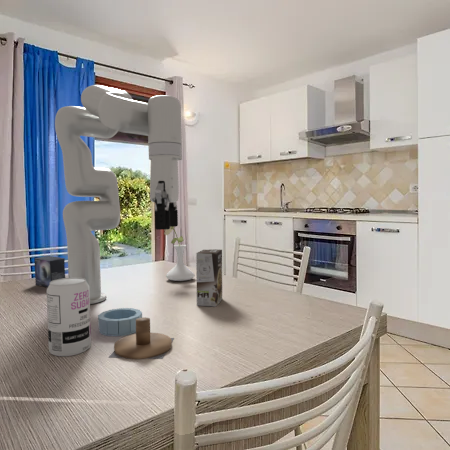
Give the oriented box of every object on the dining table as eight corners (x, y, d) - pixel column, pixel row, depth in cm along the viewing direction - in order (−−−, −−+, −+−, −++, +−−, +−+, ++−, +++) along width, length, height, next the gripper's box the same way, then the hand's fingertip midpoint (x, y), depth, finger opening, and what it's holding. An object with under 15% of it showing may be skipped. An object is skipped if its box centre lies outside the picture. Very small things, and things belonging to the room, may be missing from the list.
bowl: (91, 337, 87) (91, 320, 87) (108, 322, 97) (108, 307, 97) (134, 338, 86) (133, 321, 86) (146, 323, 96) (146, 308, 96)
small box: (34, 285, 141) (32, 257, 140) (50, 282, 146) (49, 255, 146) (50, 288, 135) (49, 260, 134) (66, 285, 140) (65, 257, 140)
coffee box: (216, 307, 111) (216, 253, 110) (196, 305, 112) (195, 252, 111) (223, 299, 120) (222, 249, 119) (203, 298, 121) (203, 248, 120)
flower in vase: (179, 275, 157) (178, 216, 155) (200, 279, 150) (200, 217, 148) (156, 281, 146) (155, 217, 144) (178, 285, 139) (177, 218, 138)
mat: (108, 359, 75) (108, 357, 75) (127, 338, 86) (127, 337, 86) (162, 360, 74) (162, 358, 74) (174, 339, 85) (174, 338, 85)
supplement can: (57, 344, 83) (54, 277, 82) (95, 342, 83) (93, 276, 82) (42, 359, 75) (39, 285, 74) (84, 358, 75) (82, 284, 74)
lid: (105, 358, 74) (104, 328, 74) (125, 336, 86) (125, 310, 86) (164, 359, 73) (163, 330, 73) (176, 337, 85) (176, 311, 85)
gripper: (157, 157, 94) (159, 225, 95) (138, 147, 77) (141, 230, 78) (187, 157, 93) (188, 225, 94) (174, 146, 76) (176, 230, 77)
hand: (167, 227), depth 86 cm, fingers open, 9 cm apart
